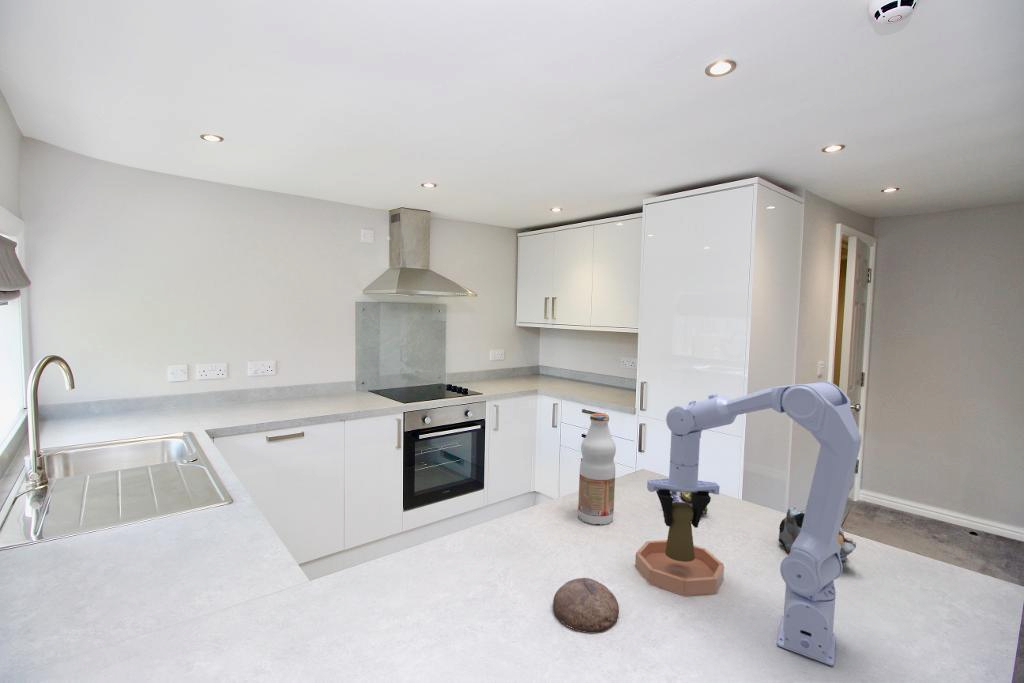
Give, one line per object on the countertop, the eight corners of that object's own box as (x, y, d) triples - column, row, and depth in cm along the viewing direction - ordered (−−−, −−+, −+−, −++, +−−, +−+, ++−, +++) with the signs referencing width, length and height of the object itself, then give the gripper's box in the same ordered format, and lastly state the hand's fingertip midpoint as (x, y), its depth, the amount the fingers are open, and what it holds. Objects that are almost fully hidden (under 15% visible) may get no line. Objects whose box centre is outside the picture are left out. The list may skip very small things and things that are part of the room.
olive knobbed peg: (697, 563, 99) (698, 509, 99) (666, 559, 100) (668, 506, 100) (692, 551, 105) (693, 500, 105) (663, 548, 106) (664, 498, 106)
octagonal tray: (710, 605, 91) (710, 590, 91) (626, 575, 101) (627, 561, 100) (728, 568, 105) (728, 555, 104) (653, 545, 114) (653, 533, 114)
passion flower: (686, 538, 131) (667, 506, 127) (669, 514, 141) (651, 484, 138) (722, 516, 130) (704, 484, 127) (702, 494, 141) (685, 464, 137)
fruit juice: (585, 526, 123) (589, 419, 122) (572, 511, 132) (576, 411, 131) (619, 524, 125) (623, 418, 124) (604, 509, 135) (608, 411, 133)
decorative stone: (581, 643, 80) (582, 611, 80) (540, 605, 90) (541, 576, 90) (632, 621, 86) (633, 591, 86) (588, 587, 96) (589, 561, 96)
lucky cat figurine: (855, 556, 112) (873, 517, 105) (833, 590, 106) (850, 551, 98) (788, 517, 122) (800, 479, 115) (765, 546, 116) (776, 508, 109)
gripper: (711, 457, 105) (708, 518, 106) (645, 455, 105) (642, 515, 106) (724, 468, 98) (721, 533, 99) (653, 465, 98) (650, 529, 99)
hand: (680, 525), depth 102 cm, fingers closed on olive knobbed peg, 5 cm apart
